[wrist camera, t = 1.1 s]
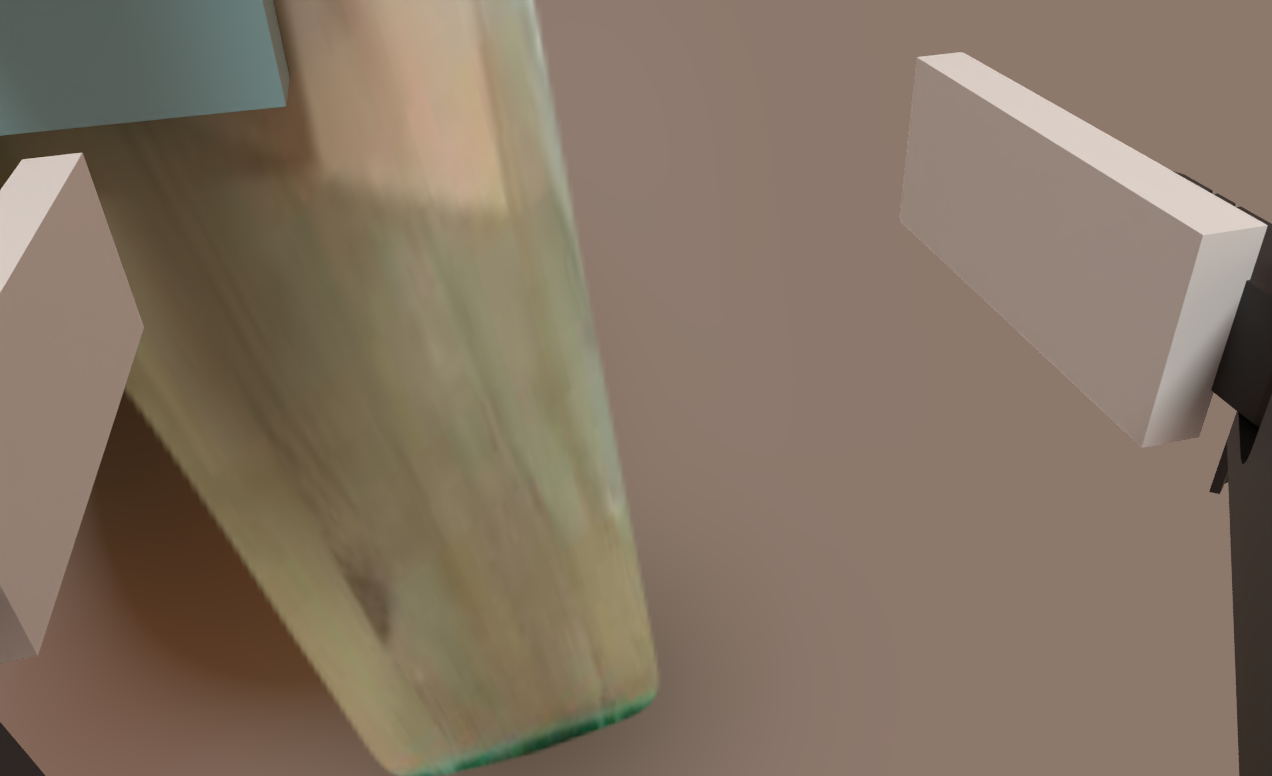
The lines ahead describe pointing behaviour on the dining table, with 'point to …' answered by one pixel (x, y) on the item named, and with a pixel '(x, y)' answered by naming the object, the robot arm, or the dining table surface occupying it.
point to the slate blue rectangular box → (136, 61)
